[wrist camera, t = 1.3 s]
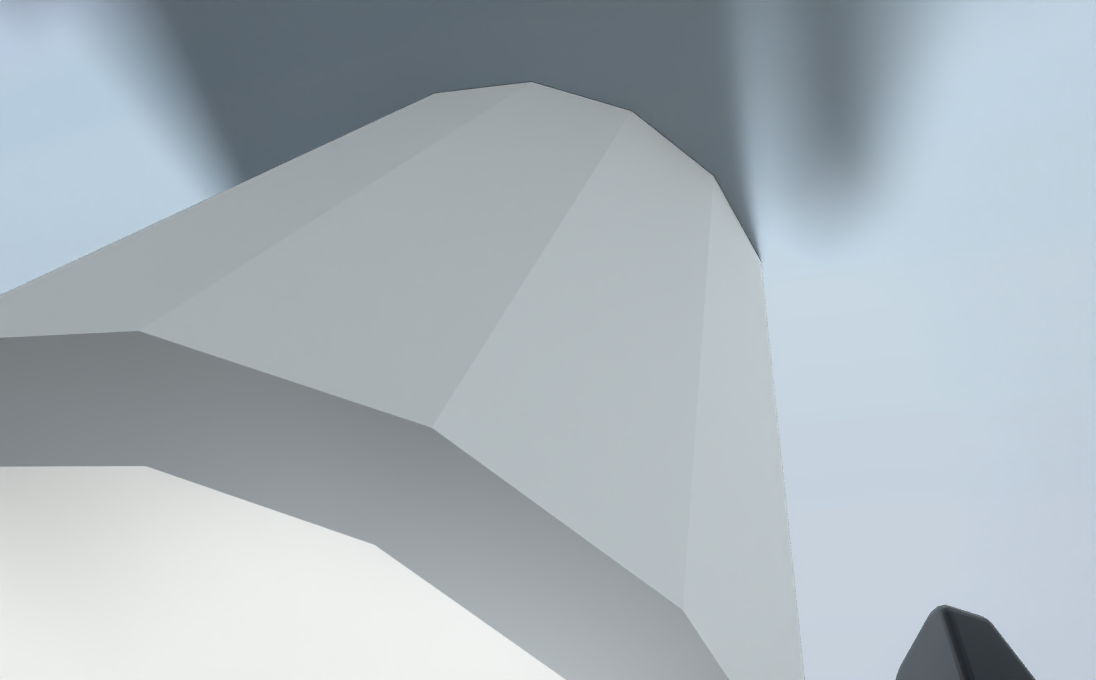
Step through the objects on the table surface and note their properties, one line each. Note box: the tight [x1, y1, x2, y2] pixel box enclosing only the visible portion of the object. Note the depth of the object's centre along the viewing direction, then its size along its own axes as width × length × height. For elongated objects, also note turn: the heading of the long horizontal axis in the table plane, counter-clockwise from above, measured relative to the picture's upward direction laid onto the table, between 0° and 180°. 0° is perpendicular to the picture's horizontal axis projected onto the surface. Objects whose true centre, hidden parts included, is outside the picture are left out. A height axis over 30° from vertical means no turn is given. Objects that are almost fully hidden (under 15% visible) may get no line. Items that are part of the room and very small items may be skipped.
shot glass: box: [0, 82, 805, 680], centre depth 9 cm, size 7×7×7 cm
